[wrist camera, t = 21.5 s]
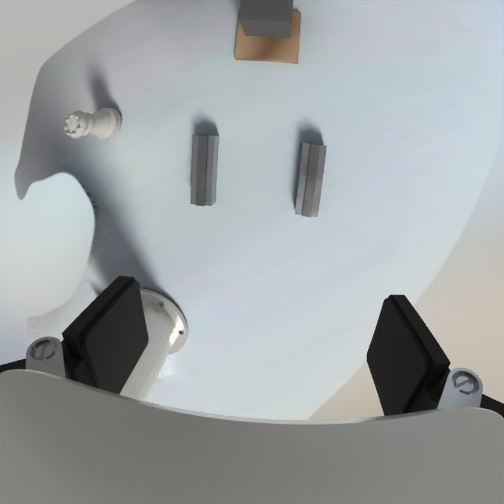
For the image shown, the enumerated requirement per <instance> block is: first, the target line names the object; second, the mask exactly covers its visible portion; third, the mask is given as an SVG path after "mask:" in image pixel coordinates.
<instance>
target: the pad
mask: <svg viewBox="0 0 504 504" xmlns="http://www.w3.org/2000/svg"><path fill="white" fill-rule="evenodd" d="M239 14H240V11H239ZM300 20H301V12H296V11H292V23H291V37H290V38H279V37H264V36H245V33H244V31H243V28H242V26H241V24H240V21H239V20H238V29H237V38H236V48H235V59H236V60H256V61H273V62H285V63H295V64H298V53H299V37H300Z"/></svg>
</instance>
